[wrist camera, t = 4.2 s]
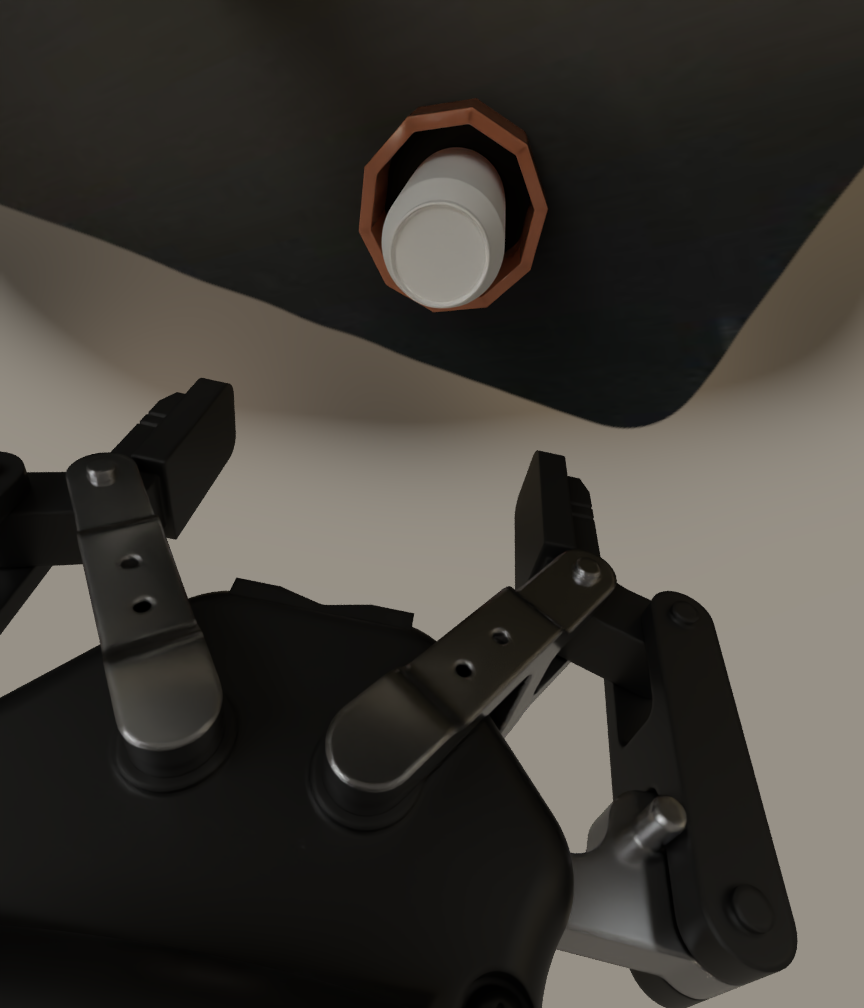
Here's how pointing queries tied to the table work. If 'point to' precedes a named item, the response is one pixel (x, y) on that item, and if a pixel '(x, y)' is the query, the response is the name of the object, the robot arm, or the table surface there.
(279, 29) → the table surface
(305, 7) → the table surface
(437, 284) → the beverage can
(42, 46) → the table surface
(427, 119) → the holder
